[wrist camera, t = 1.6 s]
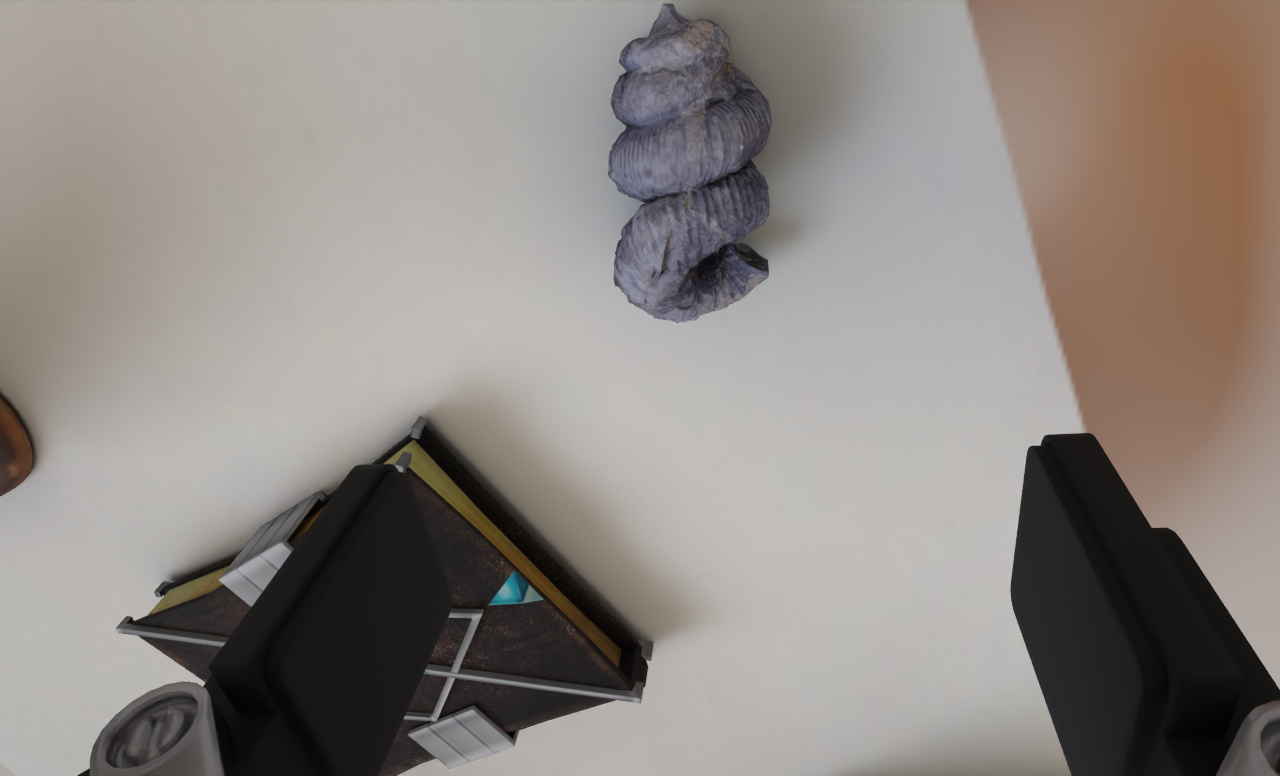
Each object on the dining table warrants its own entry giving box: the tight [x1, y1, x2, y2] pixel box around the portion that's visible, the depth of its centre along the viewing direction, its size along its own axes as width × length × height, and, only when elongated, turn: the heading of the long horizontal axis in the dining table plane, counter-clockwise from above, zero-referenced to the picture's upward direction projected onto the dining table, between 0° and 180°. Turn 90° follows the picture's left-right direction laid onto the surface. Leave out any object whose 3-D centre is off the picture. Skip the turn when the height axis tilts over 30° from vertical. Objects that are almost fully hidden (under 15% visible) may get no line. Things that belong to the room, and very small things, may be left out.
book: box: [116, 417, 653, 776], centre depth 39 cm, size 22×17×5 cm
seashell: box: [608, 4, 772, 323], centre depth 25 cm, size 5×5×10 cm
